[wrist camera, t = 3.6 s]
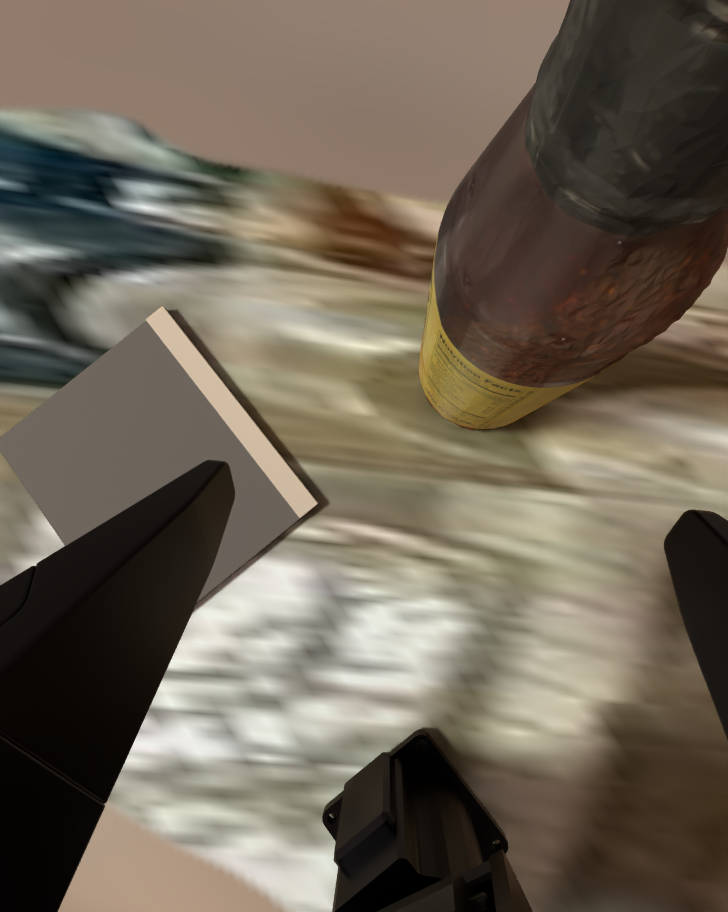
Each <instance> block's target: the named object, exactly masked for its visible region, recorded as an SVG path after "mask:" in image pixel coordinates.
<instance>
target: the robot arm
mask: <svg viewBox="0 0 728 912" xmlns="http://www.w3.org/2000/svg"><path fill="white" fill-rule="evenodd" d="M234 500H235V487H234V483H233V479H232V474H231V470H230V466H229V464H228V463H227V462H225V461H219V460H206V461H204V462H202V463H201V464H199V465H197V466H196V467H194V468H192V469H191V470H189V471H187V472H186V473H184V474H183V475H181V476H179V477H178V478H176V479H174V480H173V481H171V482H169V483H168V484H166V485H165V486H163V487H161V488H160V489H158V490H156V491H155V492H153V493H151V494H150V495H148V496H146V497H145V498H143V499H142V500H140V501H138V502H137V503H135V504H133V505H132V506H130V507H128V508H127V509H125V510H124V511H122V512H120V513H119V514H117V515H115V516H114V517H112V518H110V519H109V520H107V521H106V522H104V523H102V524H101V525H99V526H97V527H96V528H94V529H92V530H91V531H89V532H87V533H86V534H84V535H83V536H81V537H79V538H78V539H76V540H74V541H73V542H71V543H69V544H68V545H66V546H65V547H63V548H61V549H60V550H58V551H56V552H55V553H53V554H51V555H50V556H48V557H46V558H45V559H43V560H42V561H40V562H38V563H37V565H36V566H32V567H30V568H28V569H27V570H25V571H23V572H22V573H20V574H18V575H17V576H15V577H13V578H12V579H10V580H9V581H7V582H5V583H3V584H2V585H0V912H58V909H59V907H60V905H61V903H62V901H63V898H64V896H65V894H66V892H67V890H68V887H69V885H70V883H71V881H72V878H73V876H74V874H75V872H76V870H77V867H78V865H79V863H80V861H81V858H82V856H83V854H84V852H85V850H86V848H87V845H88V843H89V841H90V839H91V836H92V834H93V832H94V830H95V828H96V825H97V823H98V821H99V819H100V817H101V814H102V812H103V810H104V808H105V803H106V802H107V800H108V798H109V796H110V794H111V791H112V789H113V787H114V785H115V783H116V780H117V778H118V776H119V774H120V772H121V769H122V767H123V765H124V763H125V760H126V758H127V756H128V754H129V752H130V749H131V747H132V745H133V743H134V741H135V738H136V736H137V734H138V732H139V729H140V727H141V725H142V723H143V721H144V718H145V716H146V714H147V712H148V710H149V707H150V705H151V703H152V701H153V699H154V696H155V694H156V692H157V690H158V687H159V685H160V683H161V681H162V679H163V676H164V674H165V672H166V670H167V668H168V665H169V663H170V661H171V659H172V656H173V654H174V652H175V650H176V648H177V645H178V643H179V641H180V639H181V637H182V634H183V632H184V630H185V628H186V625H187V623H188V621H189V619H190V617H191V614H192V612H193V610H194V608H195V606H196V603H197V601H198V599H199V597H200V594H201V592H202V590H203V588H204V586H205V583H206V581H207V579H208V577H209V575H210V572H211V570H212V567H213V565H214V562H215V559H216V557H217V554H218V551H219V547H220V544H221V541H222V538H223V535H224V532H225V529H226V525H227V522H228V519H229V516H230V513H231V510H232V507H233V504H234ZM664 551H665V555H666V558H667V562H668V566H669V570H670V574H671V578H672V582H673V586H674V589H675V593H676V597H677V601H678V605H679V609H680V612H681V616H682V619H683V623H684V626H685V629H686V631H687V634H688V637H689V640H690V642H691V645H692V648H693V650H694V653H695V655H696V658H697V661H698V663H699V666H700V669H701V671H702V674H703V677H704V679H705V682H706V684H707V687H708V690H709V692H710V695H711V698H712V700H713V703H714V705H715V708H716V711H717V713H718V716H719V719H720V721H721V724H722V727H723V729H724V732H725V734H726V737H727V740H728V521H727V520H726V519H724V518H723V517H721V516H720V515H718V514H716V513H714V512H710V511H702V510H688V511H686V512H684V513H683V514H682V516H681V517H680V518H679V520H678V521H677V522H676V524H675V525H674V526H673V528H672V529H671V530H670V532H669V533H668V534H667V536H666V538H665V541H664ZM419 740H424V741H425V742H426V743H425V745H424V746H419V745H417V742H418V741H419ZM331 813H334V814H336V815H337V817H336V818H331V817H330V816H329V814H331ZM322 818H323V823H324V825H325V827H326V828H327V830H328V831H329V833H330V834H331V835H332V837H333V838H334V840H335V841H336V845H335V851H334V861H335V863H336V864H337V866H338V873H337V881H336V888H335V895H334V903H333V910H332V912H533V911H532V909H531V907H530V905H529V903H528V901H527V899H526V897H525V894H524V892H523V890H522V888H521V886H520V884H519V882H518V880H517V878H516V876H515V874H514V872H513V870H512V868H511V865H510V863H509V861H508V859H507V857H506V855H505V854H506V852H507V850H508V842H507V839H506V836H505V834H504V832H503V831H502V829H501V828H500V827H499V826H498V824H497V823H496V822H495V820H494V819H493V818H492V816H491V815H490V814H489V812H488V811H487V810H486V809H485V807H484V806H483V805H482V803H481V802H480V801H479V799H478V798H477V797H476V795H475V794H474V793H473V791H472V790H471V789H470V788H469V786H468V785H467V784H466V782H465V781H464V780H463V778H462V777H461V776H460V774H459V773H458V772H457V771H456V769H455V768H454V767H453V765H452V764H451V763H450V761H449V760H448V759H447V757H446V756H445V755H444V754H443V752H442V751H441V750H440V748H439V747H438V746H437V744H436V743H435V742H434V740H433V739H432V738H431V736H430V735H429V734H428V733H427V732H426V731H423V730H417V731H415V732H414V733H413V734H411V735H410V736H409V737H408V738H407V739H405V740H404V741H403V742H402V743H401V744H399V745H398V746H397V747H396V748H394V749H393V750H392V751H391V752H390V753H389V752H383V753H381V754H380V755H379V756H378V757H377V758H375V759H374V760H373V761H372V762H371V763H369V764H368V765H367V766H366V767H364V768H363V769H362V770H361V771H360V772H358V773H357V774H356V775H355V776H354V777H352V778H351V779H350V780H349V781H347V782H346V783H345V785H344V791H342V792H341V793H340V794H339V795H337V796H336V797H335V798H334V799H333V800H331V801H330V802H329V803H328V804H327V805H326V806H325V808H324V812H323V817H322ZM494 840H500V842H499V843H498V844H493V843H492V842H493V841H494Z"/></svg>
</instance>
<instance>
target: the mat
mask: <svg viewBox="0 0 728 912" xmlns="http://www.w3.org/2000/svg"><path fill="white" fill-rule="evenodd" d="M0 452H1V453H2V455H3V456H4V458H5V459H6V461H7V462H8V464H9V465H10V466H11V468H12V469H13V471H14V472H15V474H16V475H17V477H18V478H19V480H20V481H21V482H22V484H23V485H24V487H25V488H26V490H27V491H28V493H29V494H30V495H31V497H32V498H33V500H34V501H35V503H36V504H37V506H38V507H39V509H40V510H41V511H42V513H43V514H44V516H45V517H46V519H47V520H48V522H49V523H50V524H51V526H52V527H53V529H54V530H55V532H56V533H57V535H58V536H59V538H60V539H61V540H62V542H63V543H64V545H65V546H66V545H68V544H69V543H71V542H73V541H74V540H76V539H78V538H79V537H81V536H83V535H84V534H86V533H87V532H89V531H91V530H92V529H94V528H96V527H97V526H99V525H101V524H102V523H104V522H106V521H107V520H109V519H110V518H112V517H114V516H115V515H117V514H119V513H120V512H122V511H124V510H125V509H127V508H128V507H130V506H132V505H133V504H135V503H137V502H138V501H140V500H142V499H143V498H145V497H146V496H148V495H150V494H151V493H153V492H155V491H156V490H158V489H160V488H161V487H163V486H165V485H166V484H168V483H169V482H171V481H173V480H174V479H176V478H178V477H179V476H181V475H183V474H184V473H186V472H187V471H189V470H191V469H192V468H194V467H196V466H197V465H199V464H201V463H202V462H204V461H206V460H219V461H225V462H227V463H228V464H229V466H230V470H231V474H232V479H233V483H234V487H235V500H234V504H233V507H232V510H231V513H230V516H229V519H228V522H227V525H226V529H225V532H224V535H223V538H222V541H221V544H220V547H219V551H218V554H217V557H216V559H215V562H214V565H213V567H212V570H211V572H210V575H209V577H208V579H207V581H206V583H205V586H204V588H203V590H202V592H201V594H200V597H199V599H198V601H197V602H199V601H200V600H201V599H202V598H204V597H205V596H206V595H207V594H208V593H210V592H211V591H212V590H213V589H215V588H216V587H217V586H218V585H220V584H221V583H222V582H223V581H224V580H226V579H227V578H228V577H229V576H231V575H232V574H233V573H234V572H236V571H237V570H238V569H239V568H240V567H242V566H243V565H244V564H245V563H247V562H248V561H249V560H250V559H252V558H253V557H254V556H255V555H256V554H258V553H259V552H260V551H261V550H263V549H264V548H265V547H266V546H267V545H269V544H270V543H271V542H272V541H274V540H275V539H276V538H277V537H279V536H280V535H281V534H282V533H283V532H285V531H286V530H287V529H288V528H290V527H291V526H292V525H293V524H295V523H296V522H297V521H298V520H299V519H301V518H302V517H303V516H304V515H306V514H307V513H308V512H309V511H311V510H312V509H313V508H314V507H315V506H317V505H318V504H319V502H318V501H317V500H316V498H315V497H314V496H313V495H312V493H311V492H310V491H309V490H308V488H307V487H306V486H305V484H304V483H303V482H302V481H301V479H300V478H299V477H298V476H297V474H296V473H295V472H294V470H293V469H292V468H291V467H290V465H289V464H288V463H287V462H286V460H285V459H284V458H283V456H282V455H281V454H280V453H279V451H278V450H277V449H276V448H275V446H274V445H273V444H272V442H271V441H270V440H269V439H268V437H267V436H266V435H265V434H264V432H263V431H262V430H261V428H260V427H259V426H258V425H257V423H256V422H255V421H254V420H253V418H252V417H251V416H250V414H249V413H248V412H247V411H246V409H245V408H244V407H243V406H242V404H241V403H240V402H239V401H238V399H237V398H236V397H235V395H234V394H233V393H232V392H231V390H230V389H229V388H228V387H227V385H226V384H225V383H224V381H223V380H222V379H221V378H220V376H219V375H218V374H217V373H216V371H215V370H214V369H213V367H212V366H211V365H210V364H209V362H208V361H207V360H206V359H205V357H204V356H203V355H202V353H201V352H200V351H199V350H198V348H197V347H196V346H195V345H194V343H193V342H192V341H191V339H190V338H189V337H188V336H187V334H186V333H185V332H184V331H183V329H182V328H181V327H180V325H179V324H178V323H177V322H176V320H175V319H174V318H173V317H172V315H171V314H170V313H169V311H168V310H167V309H166V308H164V307H163V306H162V307H161V308H159V309H158V310H157V311H156V312H154V313H153V314H152V315H151V316H149V317H148V318H147V319H146V321H145V322H144V323H143V324H141V325H140V326H139V327H138V328H136V329H135V330H134V331H133V332H131V333H130V334H129V335H128V336H126V337H125V338H124V339H123V340H121V341H120V342H119V343H118V344H116V345H115V346H114V347H113V348H111V349H110V350H109V351H108V352H106V353H105V354H104V355H103V356H101V357H100V358H99V359H98V360H96V361H95V362H94V363H93V364H91V365H90V366H89V367H88V368H86V369H85V370H84V371H83V372H81V373H80V374H79V375H78V376H76V377H75V378H74V379H73V380H71V381H70V382H69V383H68V384H66V385H65V386H64V387H63V388H61V389H60V390H59V391H58V392H56V393H55V394H54V395H53V396H51V397H50V398H49V399H48V400H46V401H45V402H44V403H43V404H41V405H40V406H39V407H38V408H36V409H35V410H34V411H33V412H31V413H30V414H29V415H28V416H26V417H25V418H24V419H23V420H21V421H20V422H19V423H18V424H16V425H15V426H14V427H13V428H11V429H10V430H9V431H8V432H6V433H5V434H4V435H3V436H1V437H0Z"/></svg>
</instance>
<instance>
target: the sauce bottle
mask: <svg viewBox="0 0 728 912" xmlns="http://www.w3.org/2000/svg"><path fill="white" fill-rule="evenodd" d="M727 247H728V0H570V3H569V6H568V9H567V12H566V15H565V18H564V20H563V23H562V25H561V28H560V30H559V33H558V35H557V36H556V38H555V39H554V41H553V42H552V44H551V46H550V48H549V50H548V52H547V54H546V56H545V58H544V60H543V62H542V64H541V66H540V69H539V72H538V76H537V80H536V83H535V84H534V86H533V87H532V89H531V90H530V91H529V92H528V94H527V95H526V96H525V97H524V99H523V100H522V101H521V103H520V104H519V106H518V107H517V108H516V110H515V111H514V112H513V113H512V115H511V116H510V117H509V119H508V120H507V121H506V123H505V124H504V125H503V126H502V128H501V129H500V130H499V132H498V133H497V134H496V136H495V137H494V138H493V140H492V141H491V142H490V143H489V145H488V146H487V147H486V149H485V150H484V151H483V153H482V154H481V155H480V157H479V158H478V159H477V161H476V162H475V163H474V165H473V166H472V167H471V169H470V170H469V171H468V173H467V174H466V175H465V177H464V178H463V179H462V181H461V182H460V184H459V185H458V187H457V189H456V190H455V192H454V194H453V195H452V197H451V199H450V201H449V203H448V205H447V208H446V210H445V213H444V216H443V219H442V222H441V225H440V228H439V233H438V237H437V242H436V249H435V256H434V263H433V268H432V277H431V284H430V291H429V297H428V305H427V312H426V318H425V325H424V332H423V338H422V345H421V352H420V359H419V375H420V381H421V384H422V387H423V390H424V392H425V394H426V398H427V400H428V402H429V403H430V405H431V406H432V407H433V408H434V409H435V410H436V411H437V412H438V413H439V414H440V415H442V416H443V417H444V418H445V419H447V420H449V421H451V422H453V423H455V424H456V425H459V426H460V427H462V428H465V429H468V430H475V429H492V428H498V427H502V426H505V425H508V424H510V423H513V422H515V421H517V420H518V419H520V418H522V417H524V416H525V415H527V414H529V413H531V412H533V411H534V410H536V409H538V408H540V407H542V406H544V405H545V404H547V403H549V402H551V401H552V400H554V399H556V398H558V397H560V396H561V395H563V394H565V393H567V392H568V391H570V390H572V389H574V388H576V387H577V386H579V385H581V384H583V383H585V382H586V381H588V380H590V379H591V378H593V377H595V376H596V375H598V374H599V373H600V372H602V371H604V370H606V369H607V368H609V367H611V366H612V365H614V364H616V363H617V362H619V361H620V360H621V359H622V358H623V357H624V356H625V355H626V354H628V353H629V352H630V351H632V350H634V349H636V348H638V347H639V346H642V345H644V344H647V343H648V342H650V341H651V340H652V339H653V338H654V337H656V336H657V335H659V334H661V333H663V332H664V331H666V330H667V328H668V327H669V326H670V325H671V324H672V323H674V322H675V321H677V320H679V319H680V318H681V317H682V316H683V314H684V313H685V312H686V311H687V310H688V309H689V308H690V307H691V306H692V305H693V304H694V302H695V301H696V300H697V298H698V297H699V296H700V295H701V293H702V291H703V290H704V289H705V288H707V287H708V286H709V285H710V283H711V280H712V278H713V276H714V275H715V273H716V272H717V271H718V269H719V268H720V266H721V264H722V262H723V260H724V258H725V255H726V251H727Z"/></svg>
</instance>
